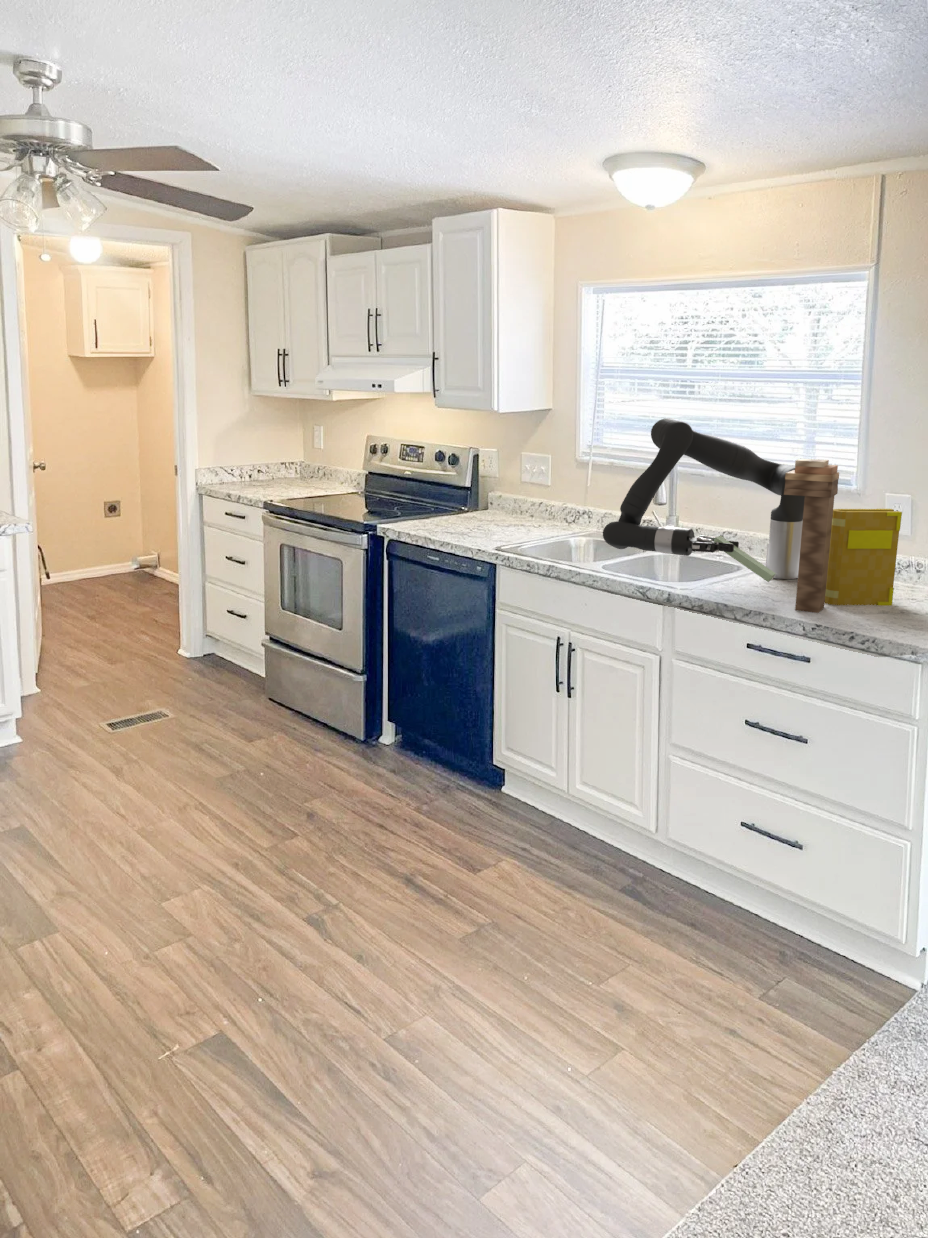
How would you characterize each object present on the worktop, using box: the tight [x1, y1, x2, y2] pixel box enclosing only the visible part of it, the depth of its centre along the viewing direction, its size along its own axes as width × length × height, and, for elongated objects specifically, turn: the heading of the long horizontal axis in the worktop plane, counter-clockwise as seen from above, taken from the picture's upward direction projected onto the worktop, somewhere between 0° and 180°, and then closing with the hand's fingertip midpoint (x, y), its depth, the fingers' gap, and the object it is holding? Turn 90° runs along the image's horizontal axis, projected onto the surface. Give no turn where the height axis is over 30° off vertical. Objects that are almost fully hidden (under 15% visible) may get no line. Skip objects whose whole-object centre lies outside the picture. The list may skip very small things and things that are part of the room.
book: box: [825, 508, 903, 607], centre depth 278 cm, size 17×7×25 cm, turn 92°
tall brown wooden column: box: [784, 458, 840, 614], centre depth 270 cm, size 12×9×39 cm
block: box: [714, 535, 776, 583], centre depth 280 cm, size 18×4×2 cm
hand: (735, 546), depth 280 cm, fingers closed on block, 4 cm apart
